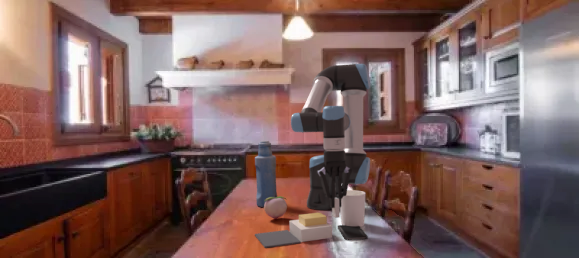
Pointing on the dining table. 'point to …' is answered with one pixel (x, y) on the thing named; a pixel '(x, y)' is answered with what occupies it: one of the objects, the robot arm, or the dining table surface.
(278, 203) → the decorative fruit
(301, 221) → the ochre tile
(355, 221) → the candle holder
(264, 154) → the bottle
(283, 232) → the dark grey mat
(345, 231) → the phone
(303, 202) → the dining table surface
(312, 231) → the white stand
